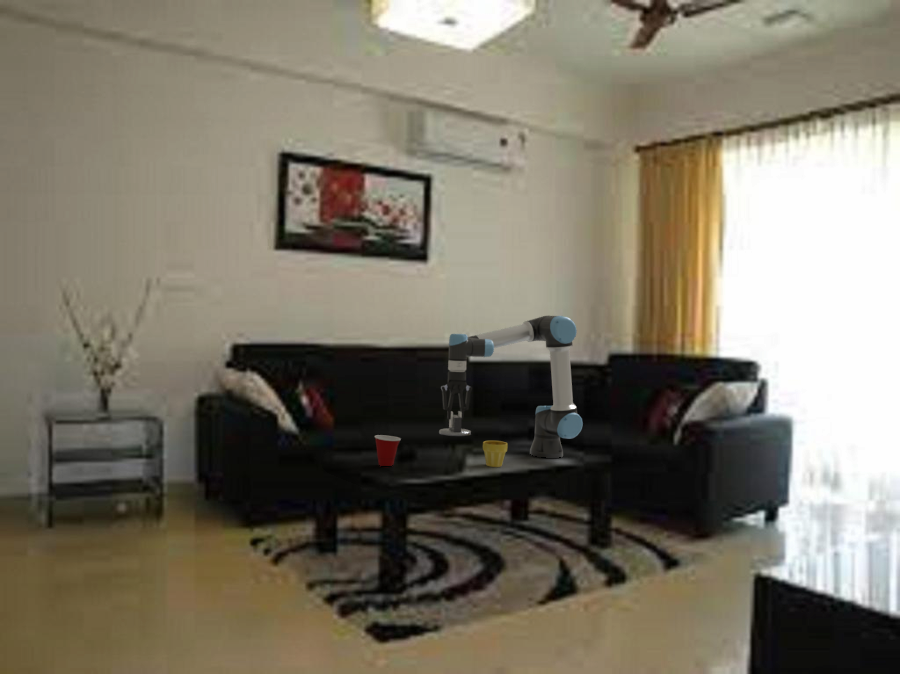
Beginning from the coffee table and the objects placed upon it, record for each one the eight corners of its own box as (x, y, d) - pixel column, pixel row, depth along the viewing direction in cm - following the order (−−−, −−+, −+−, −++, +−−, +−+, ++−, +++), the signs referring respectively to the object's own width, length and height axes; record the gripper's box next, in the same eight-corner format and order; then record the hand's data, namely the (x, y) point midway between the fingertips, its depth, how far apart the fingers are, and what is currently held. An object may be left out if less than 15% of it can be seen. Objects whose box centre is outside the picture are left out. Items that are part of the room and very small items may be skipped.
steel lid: (466, 431, 341) (466, 414, 341) (474, 436, 329) (474, 418, 329) (436, 431, 339) (436, 414, 338) (443, 436, 326) (443, 418, 326)
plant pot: (504, 468, 332) (505, 445, 332) (480, 466, 334) (481, 443, 334) (507, 464, 342) (509, 441, 342) (484, 462, 344) (485, 439, 344)
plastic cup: (401, 468, 322) (402, 438, 322) (374, 468, 320) (375, 438, 320) (398, 463, 333) (399, 434, 332) (372, 463, 331) (373, 434, 331)
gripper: (440, 371, 327) (438, 428, 328) (478, 371, 331) (476, 428, 332) (436, 369, 335) (434, 425, 335) (473, 370, 338) (471, 425, 339)
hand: (455, 427), depth 334 cm, fingers closed on steel lid, 3 cm apart
